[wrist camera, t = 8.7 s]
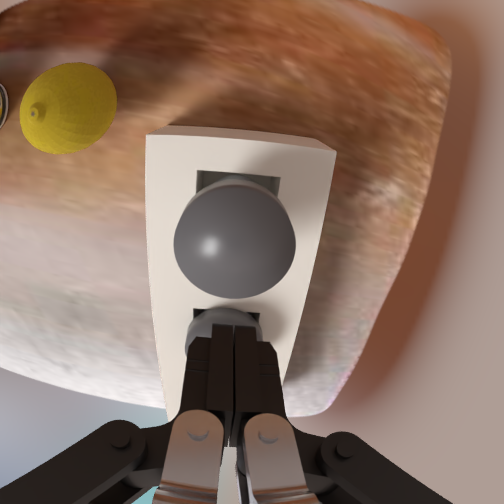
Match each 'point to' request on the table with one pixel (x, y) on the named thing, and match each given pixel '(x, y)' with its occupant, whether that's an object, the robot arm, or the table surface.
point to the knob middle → (204, 321)
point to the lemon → (68, 108)
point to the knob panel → (191, 182)
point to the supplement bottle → (3, 105)
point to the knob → (234, 239)
